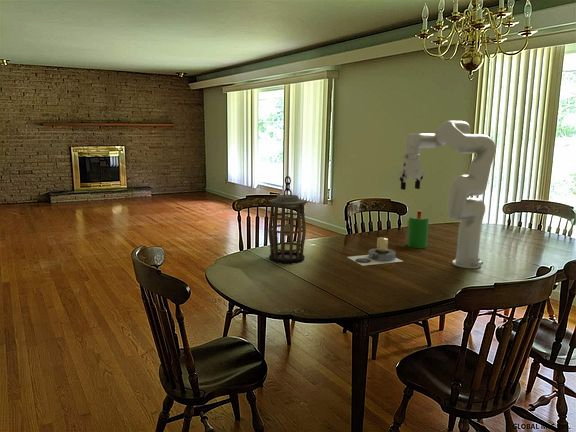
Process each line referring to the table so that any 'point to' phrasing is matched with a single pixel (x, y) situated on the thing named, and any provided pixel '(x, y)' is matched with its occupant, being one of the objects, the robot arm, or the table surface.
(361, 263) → the base plate
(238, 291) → the table surface
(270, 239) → the lantern
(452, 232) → the table surface
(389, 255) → the ring
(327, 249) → the table surface
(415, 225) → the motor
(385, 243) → the brass round-ended cylinder
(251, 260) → the table surface
